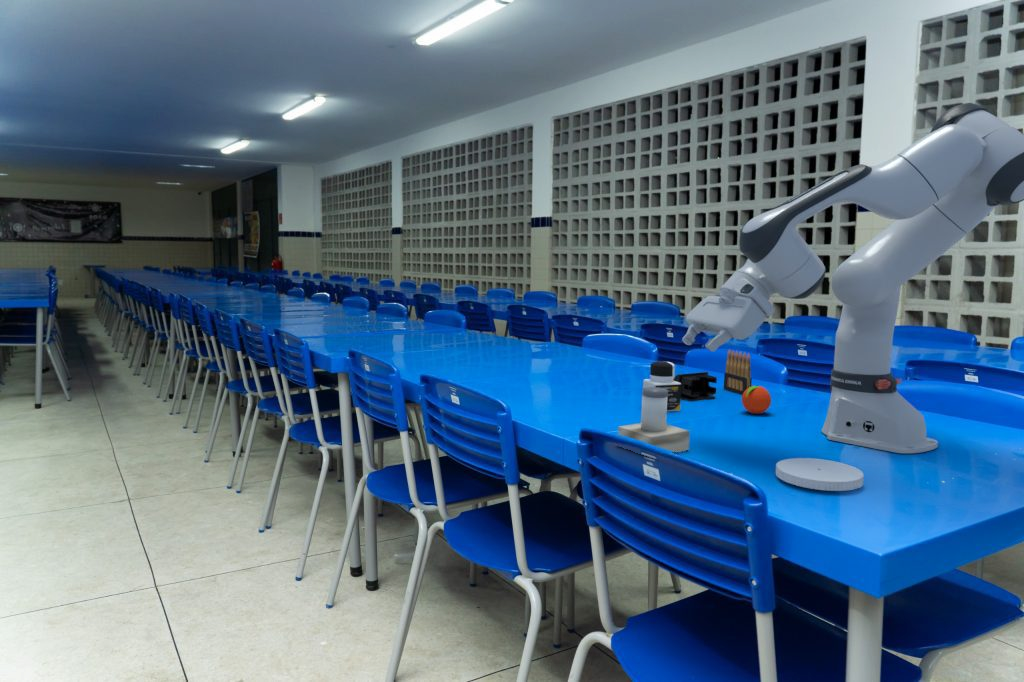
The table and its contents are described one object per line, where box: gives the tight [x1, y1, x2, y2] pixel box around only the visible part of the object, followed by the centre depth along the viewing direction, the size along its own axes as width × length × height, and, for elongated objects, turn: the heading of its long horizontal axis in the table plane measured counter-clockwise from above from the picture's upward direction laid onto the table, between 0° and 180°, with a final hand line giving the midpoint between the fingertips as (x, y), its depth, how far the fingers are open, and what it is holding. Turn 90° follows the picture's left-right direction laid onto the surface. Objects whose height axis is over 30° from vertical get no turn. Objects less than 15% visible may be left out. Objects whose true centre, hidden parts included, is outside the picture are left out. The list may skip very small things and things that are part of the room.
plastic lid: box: [775, 457, 865, 492], centre depth 126 cm, size 14×14×2 cm
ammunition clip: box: [723, 348, 753, 396], centre depth 206 cm, size 11×2×12 cm, turn 18°
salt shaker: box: [640, 387, 668, 432], centre depth 146 cm, size 5×5×8 cm
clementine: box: [741, 385, 772, 415], centre depth 179 cm, size 8×7×7 cm
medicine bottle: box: [642, 360, 682, 412], centre depth 184 cm, size 7×7×12 cm
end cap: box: [673, 371, 718, 402], centre depth 198 cm, size 10×7×7 cm
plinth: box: [617, 422, 690, 454], centre depth 147 cm, size 10×10×4 cm
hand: (696, 345), depth 147 cm, fingers open, 8 cm apart
